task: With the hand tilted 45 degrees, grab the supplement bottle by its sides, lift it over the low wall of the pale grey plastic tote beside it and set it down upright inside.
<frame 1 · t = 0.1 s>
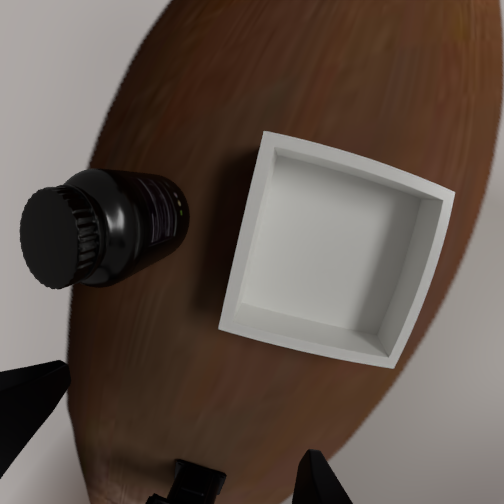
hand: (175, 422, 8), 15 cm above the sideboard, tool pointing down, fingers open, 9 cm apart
tote: (332, 248, 21), on the sideboard
supplement bottle: (155, 216, 22), on the sideboard
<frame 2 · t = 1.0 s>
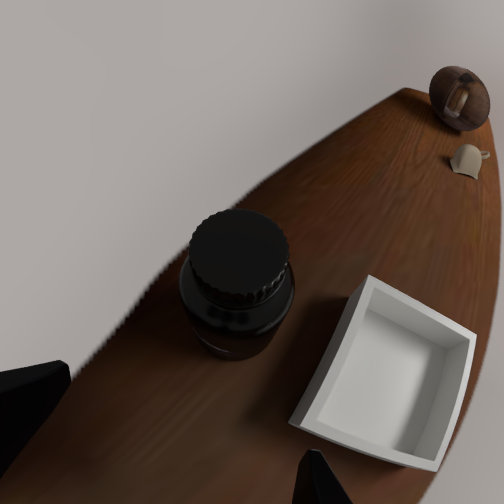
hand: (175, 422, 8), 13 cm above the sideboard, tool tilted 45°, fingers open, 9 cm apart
tote: (382, 385, 21), on the sideboard
beige rounded piece: (463, 170, 39), on the sideboard
supplement bottle: (235, 324, 24), on the sideboard
dark glossy egg: (447, 123, 48), on the sideboard
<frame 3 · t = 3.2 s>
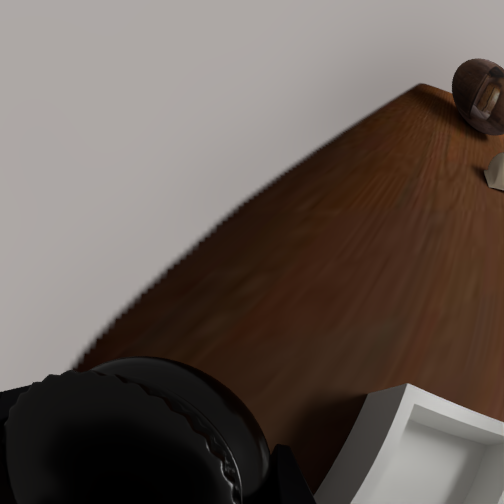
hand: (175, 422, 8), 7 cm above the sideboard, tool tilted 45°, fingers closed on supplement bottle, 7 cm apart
beige rounded piece: (497, 185, 29), on the sideboard
supplement bottle: (190, 439, 13), on the sideboard, touching gripper
dark glossy egg: (471, 126, 38), on the sideboard
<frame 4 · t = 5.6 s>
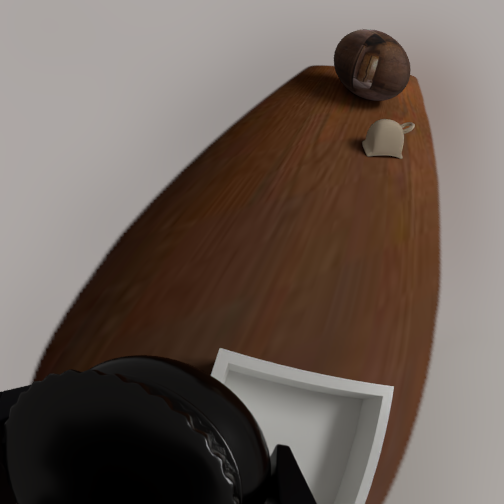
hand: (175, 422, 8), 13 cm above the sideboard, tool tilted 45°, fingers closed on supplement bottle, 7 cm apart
tote: (278, 451, 18), on the sideboard
beige rounded piece: (382, 151, 38), on the sideboard
supplement bottle: (189, 438, 13), point 6 cm above the sideboard, touching gripper
dark glossy egg: (362, 96, 48), on the sideboard
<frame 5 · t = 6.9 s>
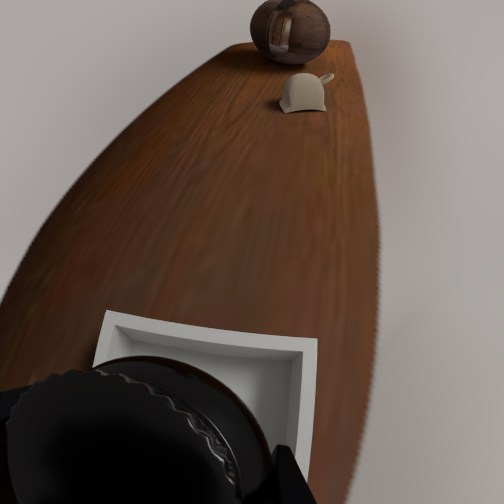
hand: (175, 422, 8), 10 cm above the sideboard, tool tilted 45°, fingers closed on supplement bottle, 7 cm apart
tote: (200, 431, 16), on the sideboard
beige rounded piece: (304, 107, 37), on the sideboard
supplement bottle: (190, 438, 13), point 3 cm above the sideboard, touching gripper
dark glossy egg: (285, 62, 47), on the sideboard
when the fingers open (9 cm above the sideboard, at t = 7.7 s): supplement bottle drops 1 cm, resting on tote.
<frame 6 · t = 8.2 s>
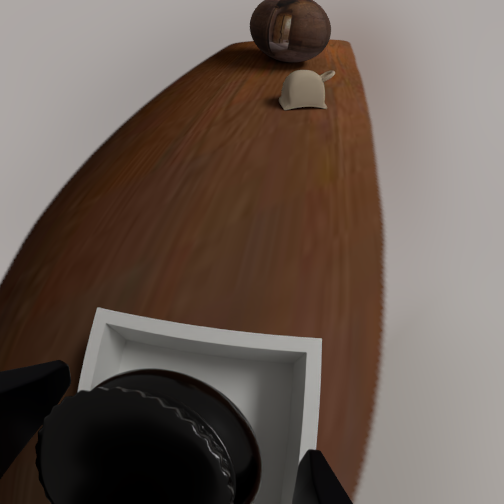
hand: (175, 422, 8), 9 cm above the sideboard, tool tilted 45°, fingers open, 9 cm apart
tote: (197, 436, 15), on the sideboard
beige rounded piece: (304, 104, 36), on the sideboard
supplement bottle: (191, 439, 14), point 1 cm above the sideboard, touching tote
dark glossy egg: (285, 61, 46), on the sideboard
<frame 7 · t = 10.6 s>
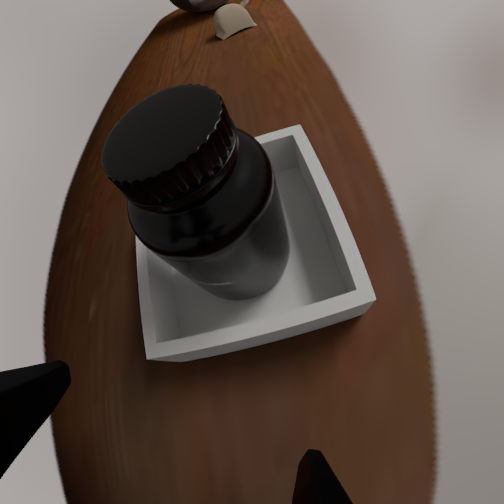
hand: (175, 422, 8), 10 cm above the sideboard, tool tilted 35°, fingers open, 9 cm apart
tote: (248, 255, 20), on the sideboard
beige rounded piece: (238, 30, 36), on the sideboard
supplement bottle: (242, 254, 20), point 1 cm above the sideboard, touching tote
dark glossy egg: (211, 9, 45), on the sideboard
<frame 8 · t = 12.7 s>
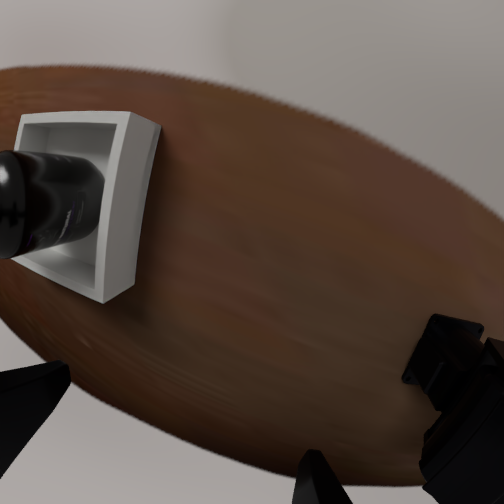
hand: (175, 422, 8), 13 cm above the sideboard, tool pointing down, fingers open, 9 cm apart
tote: (84, 194, 21), on the sideboard
supplement bottle: (79, 197, 20), point 1 cm above the sideboard, touching tote
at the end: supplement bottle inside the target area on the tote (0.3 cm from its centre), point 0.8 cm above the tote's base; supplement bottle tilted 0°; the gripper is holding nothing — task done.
